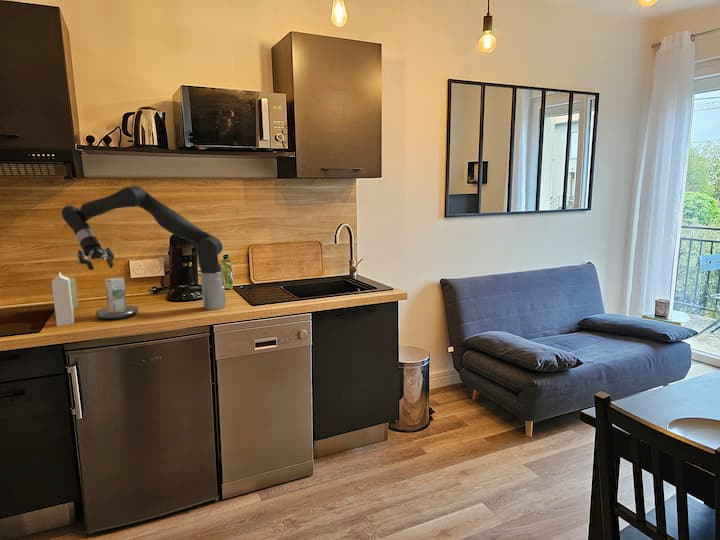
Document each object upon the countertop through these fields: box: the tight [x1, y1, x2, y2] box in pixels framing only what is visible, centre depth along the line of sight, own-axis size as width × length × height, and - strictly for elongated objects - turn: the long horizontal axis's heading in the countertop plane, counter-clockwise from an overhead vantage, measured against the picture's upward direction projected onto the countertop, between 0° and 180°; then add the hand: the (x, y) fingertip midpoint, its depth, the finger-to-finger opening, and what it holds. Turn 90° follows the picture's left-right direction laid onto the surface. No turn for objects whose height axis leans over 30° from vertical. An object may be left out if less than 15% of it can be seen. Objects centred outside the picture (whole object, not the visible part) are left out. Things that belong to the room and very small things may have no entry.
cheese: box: [51, 277, 79, 311], centre depth 221 cm, size 22×10×15 cm, turn 27°
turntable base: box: [105, 316, 131, 321], centre depth 217 cm, size 12×12×1 cm
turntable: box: [95, 305, 139, 320], centre depth 216 cm, size 17×17×2 cm
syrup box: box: [104, 276, 127, 312], centre depth 215 cm, size 6×6×14 cm
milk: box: [51, 271, 75, 327], centre depth 204 cm, size 6×6×22 cm
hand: (102, 268), depth 219 cm, fingers open, 8 cm apart
